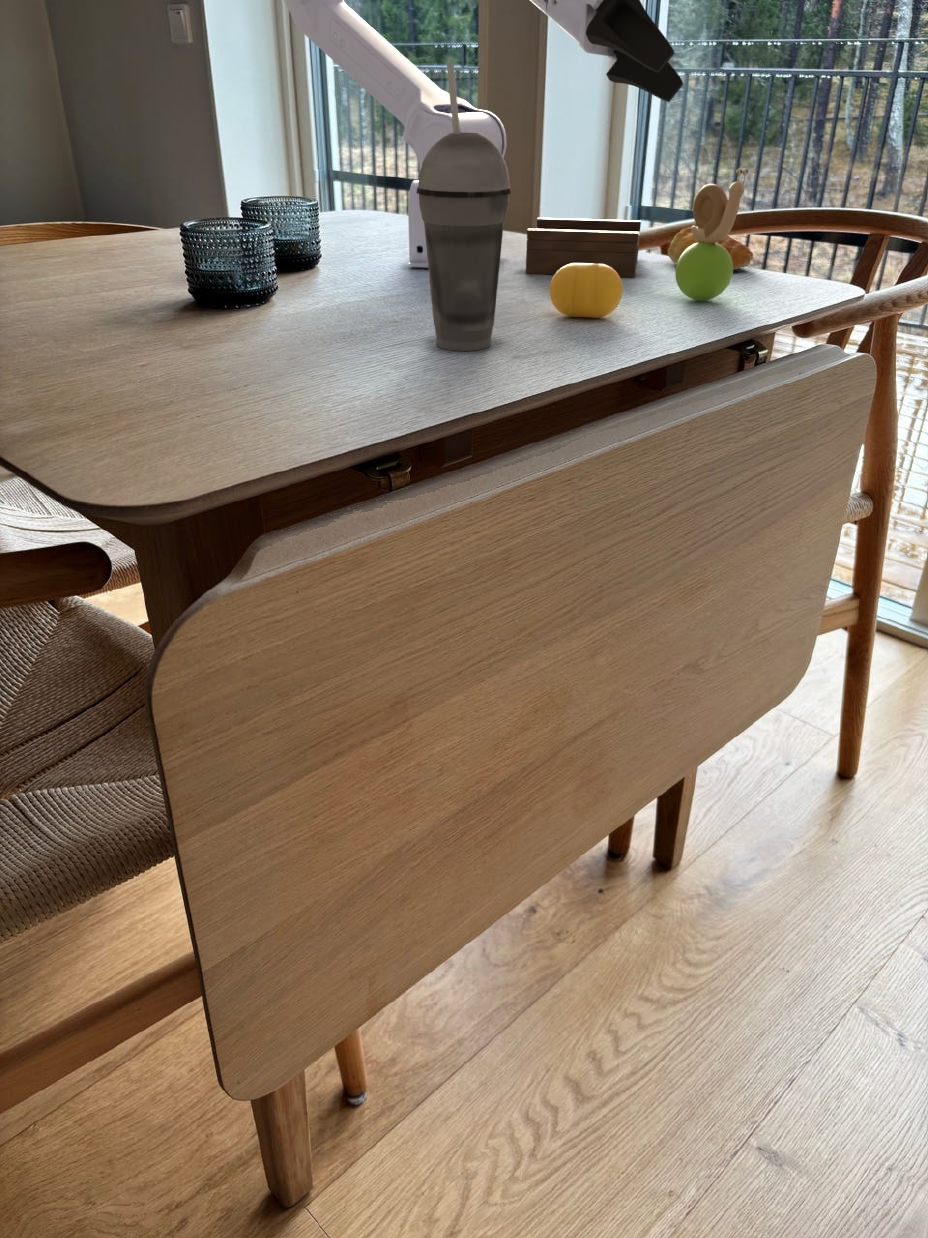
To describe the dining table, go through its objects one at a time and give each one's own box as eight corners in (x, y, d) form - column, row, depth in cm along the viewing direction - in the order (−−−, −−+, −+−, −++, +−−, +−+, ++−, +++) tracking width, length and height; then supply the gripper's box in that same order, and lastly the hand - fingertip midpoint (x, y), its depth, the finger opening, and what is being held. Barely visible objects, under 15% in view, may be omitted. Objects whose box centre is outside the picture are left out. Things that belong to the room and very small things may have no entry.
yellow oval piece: (545, 320, 85) (548, 266, 83) (551, 309, 89) (553, 257, 87) (619, 323, 84) (623, 269, 82) (621, 312, 88) (626, 260, 86)
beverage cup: (478, 359, 73) (481, 61, 63) (402, 347, 77) (393, 61, 67) (523, 340, 79) (533, 62, 69) (450, 329, 82) (449, 62, 72)
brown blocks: (525, 273, 105) (527, 229, 103) (536, 257, 113) (537, 217, 111) (634, 277, 103) (638, 233, 101) (637, 261, 111) (641, 220, 109)
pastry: (762, 267, 108) (768, 232, 106) (731, 276, 104) (736, 239, 102) (693, 257, 114) (696, 223, 112) (660, 264, 110) (663, 229, 108)
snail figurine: (703, 310, 89) (721, 169, 83) (661, 297, 94) (674, 163, 88) (747, 304, 91) (768, 167, 85) (703, 292, 96) (720, 161, 90)
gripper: (580, -93, 82) (694, 4, 81) (609, -16, 96) (707, 68, 94) (527, -18, 85) (637, 77, 83) (563, 47, 98) (658, 130, 97)
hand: (671, 77), depth 89 cm, fingers open, 7 cm apart
